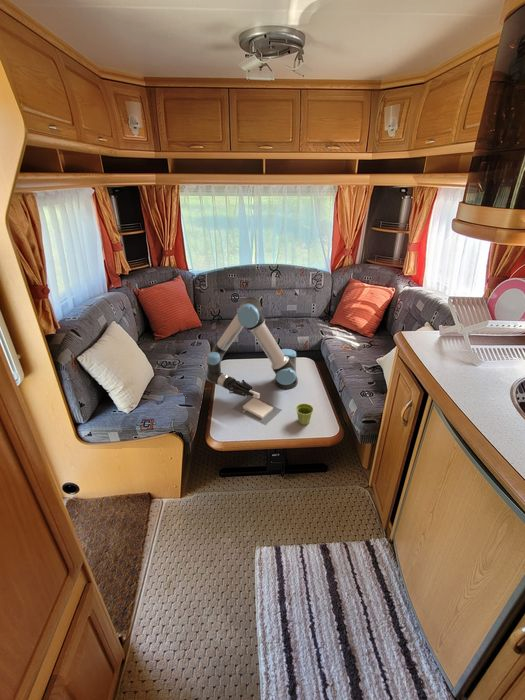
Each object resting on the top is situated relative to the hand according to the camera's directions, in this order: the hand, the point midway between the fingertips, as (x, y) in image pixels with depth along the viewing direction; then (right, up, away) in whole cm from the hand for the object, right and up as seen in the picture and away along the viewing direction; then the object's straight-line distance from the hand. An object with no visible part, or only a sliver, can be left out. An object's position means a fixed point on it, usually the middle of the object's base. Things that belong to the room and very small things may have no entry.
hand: (258, 396), depth 192 cm
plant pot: (+25, -14, -2) cm, 28 cm away
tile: (-6, -5, +8) cm, 11 cm away
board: (-1, -9, +6) cm, 11 cm away
